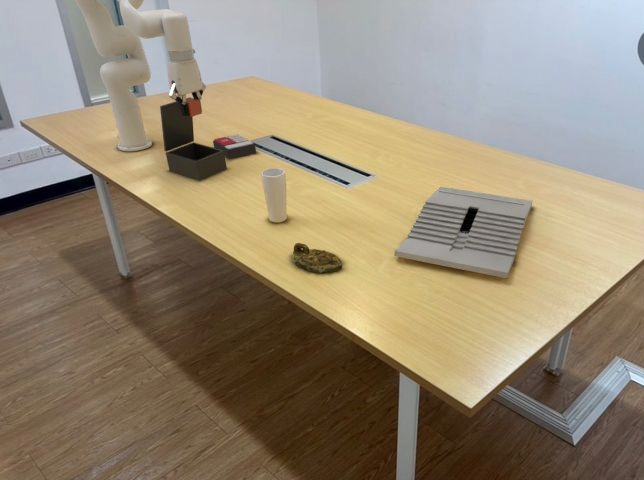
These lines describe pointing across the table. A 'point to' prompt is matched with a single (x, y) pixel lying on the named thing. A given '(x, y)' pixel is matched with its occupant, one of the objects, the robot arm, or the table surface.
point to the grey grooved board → (467, 231)
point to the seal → (315, 259)
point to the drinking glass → (275, 193)
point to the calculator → (234, 146)
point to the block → (194, 106)
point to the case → (196, 161)
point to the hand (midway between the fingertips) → (192, 113)
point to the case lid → (175, 126)
